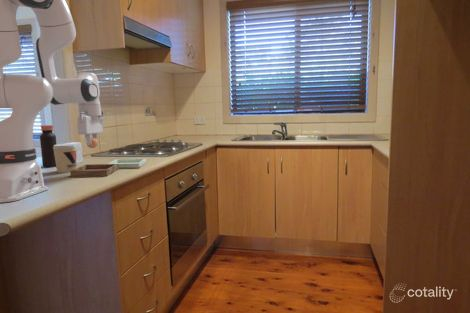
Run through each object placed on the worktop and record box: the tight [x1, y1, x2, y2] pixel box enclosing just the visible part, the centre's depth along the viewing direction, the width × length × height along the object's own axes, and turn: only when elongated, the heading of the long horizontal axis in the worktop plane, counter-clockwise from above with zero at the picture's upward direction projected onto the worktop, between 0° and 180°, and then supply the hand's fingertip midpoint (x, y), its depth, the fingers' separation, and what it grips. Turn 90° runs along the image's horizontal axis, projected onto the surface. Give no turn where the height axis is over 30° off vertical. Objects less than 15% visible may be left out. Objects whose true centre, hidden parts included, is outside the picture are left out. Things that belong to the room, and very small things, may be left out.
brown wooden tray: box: [69, 163, 119, 178], centre depth 144 cm, size 16×15×2 cm
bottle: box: [39, 124, 57, 168], centre depth 161 cm, size 7×7×20 cm
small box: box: [64, 141, 84, 164], centre depth 171 cm, size 8×6×10 cm
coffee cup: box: [53, 143, 77, 174], centre depth 148 cm, size 9×9×12 cm
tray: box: [107, 158, 147, 170], centre depth 161 cm, size 15×15×2 cm
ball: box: [85, 137, 98, 149], centre depth 141 cm, size 4×4×4 cm
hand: (92, 144), depth 142 cm, fingers closed on ball, 4 cm apart
